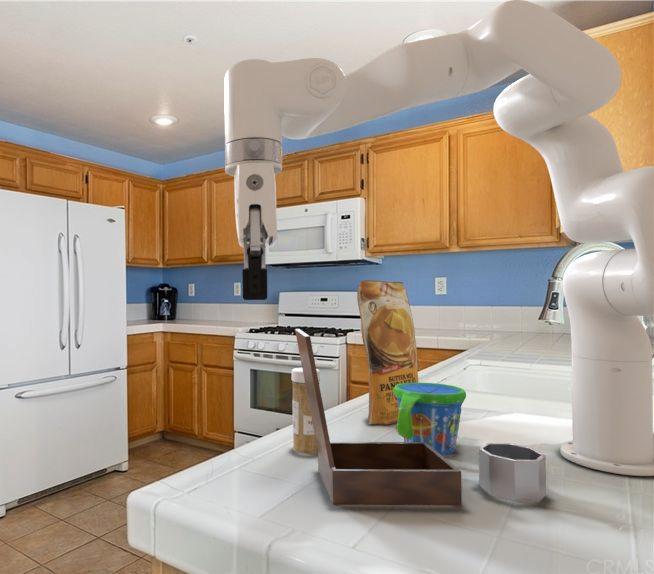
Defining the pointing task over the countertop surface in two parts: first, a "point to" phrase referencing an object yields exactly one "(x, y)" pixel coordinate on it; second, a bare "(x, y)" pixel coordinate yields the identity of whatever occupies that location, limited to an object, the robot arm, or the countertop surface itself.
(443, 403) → the snack cup
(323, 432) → the lid
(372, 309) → the pancake mix bag
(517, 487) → the steel cup
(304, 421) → the sprinkles bottle
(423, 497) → the chest
